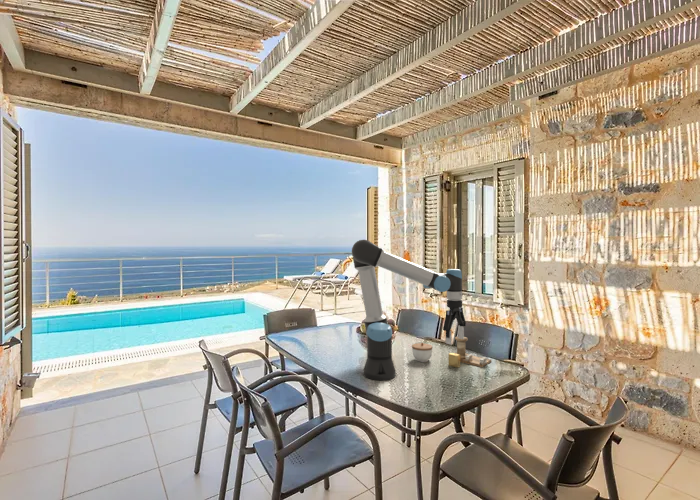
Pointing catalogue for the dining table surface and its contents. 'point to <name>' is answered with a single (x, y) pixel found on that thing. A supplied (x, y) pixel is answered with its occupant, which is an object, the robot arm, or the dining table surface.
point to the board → (475, 360)
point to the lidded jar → (422, 352)
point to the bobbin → (461, 347)
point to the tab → (454, 360)
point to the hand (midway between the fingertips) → (455, 341)
